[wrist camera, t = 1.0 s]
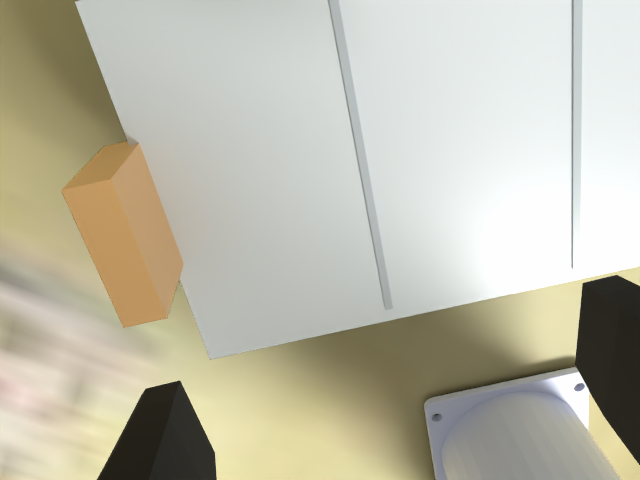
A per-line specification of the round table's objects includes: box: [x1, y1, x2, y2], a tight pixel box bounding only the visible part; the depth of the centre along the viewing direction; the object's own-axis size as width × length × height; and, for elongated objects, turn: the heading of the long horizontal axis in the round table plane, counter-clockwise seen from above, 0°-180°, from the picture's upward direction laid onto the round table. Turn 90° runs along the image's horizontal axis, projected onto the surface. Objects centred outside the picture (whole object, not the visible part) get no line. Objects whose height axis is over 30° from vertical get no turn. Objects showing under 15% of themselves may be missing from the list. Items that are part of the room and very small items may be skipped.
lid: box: [61, 0, 640, 360], centre depth 15 cm, size 12×20×4 cm, turn 102°
